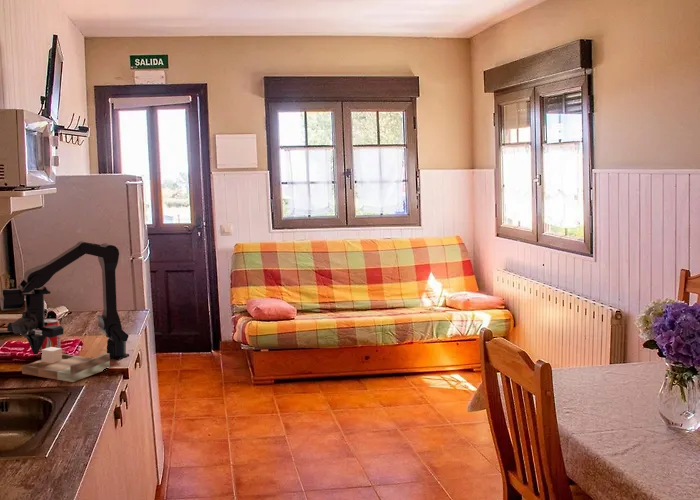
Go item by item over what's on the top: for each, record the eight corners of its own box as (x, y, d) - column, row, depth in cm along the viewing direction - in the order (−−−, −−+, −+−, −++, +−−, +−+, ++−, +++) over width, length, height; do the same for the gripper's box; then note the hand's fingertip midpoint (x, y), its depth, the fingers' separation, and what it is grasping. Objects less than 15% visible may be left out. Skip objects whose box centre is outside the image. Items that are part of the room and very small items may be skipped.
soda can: (53, 357, 279) (53, 323, 277) (34, 355, 280) (34, 321, 279) (64, 352, 286) (64, 319, 284) (46, 350, 287) (46, 317, 285)
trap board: (60, 360, 275) (60, 346, 274) (109, 368, 268) (109, 353, 267) (22, 373, 258) (21, 358, 258) (73, 382, 251) (72, 366, 251)
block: (51, 358, 268) (50, 346, 267) (61, 360, 266) (61, 348, 266) (41, 361, 264) (41, 349, 263) (52, 363, 262) (52, 351, 262)
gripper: (-7, 309, 261) (-6, 356, 263) (40, 315, 254) (40, 363, 256) (19, 303, 271) (20, 348, 273) (64, 309, 265) (64, 355, 267)
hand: (35, 354), depth 267 cm, fingers closed
